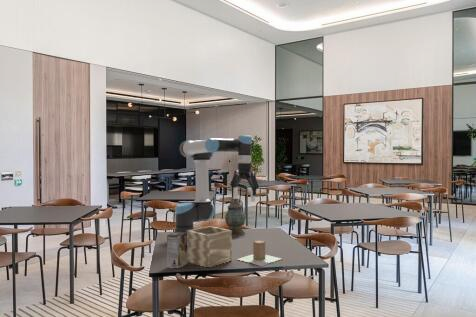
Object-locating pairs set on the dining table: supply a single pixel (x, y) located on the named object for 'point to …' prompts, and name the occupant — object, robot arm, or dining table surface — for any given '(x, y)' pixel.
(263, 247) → the lid
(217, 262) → the box
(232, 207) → the dark green urn
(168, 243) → the coffee box
